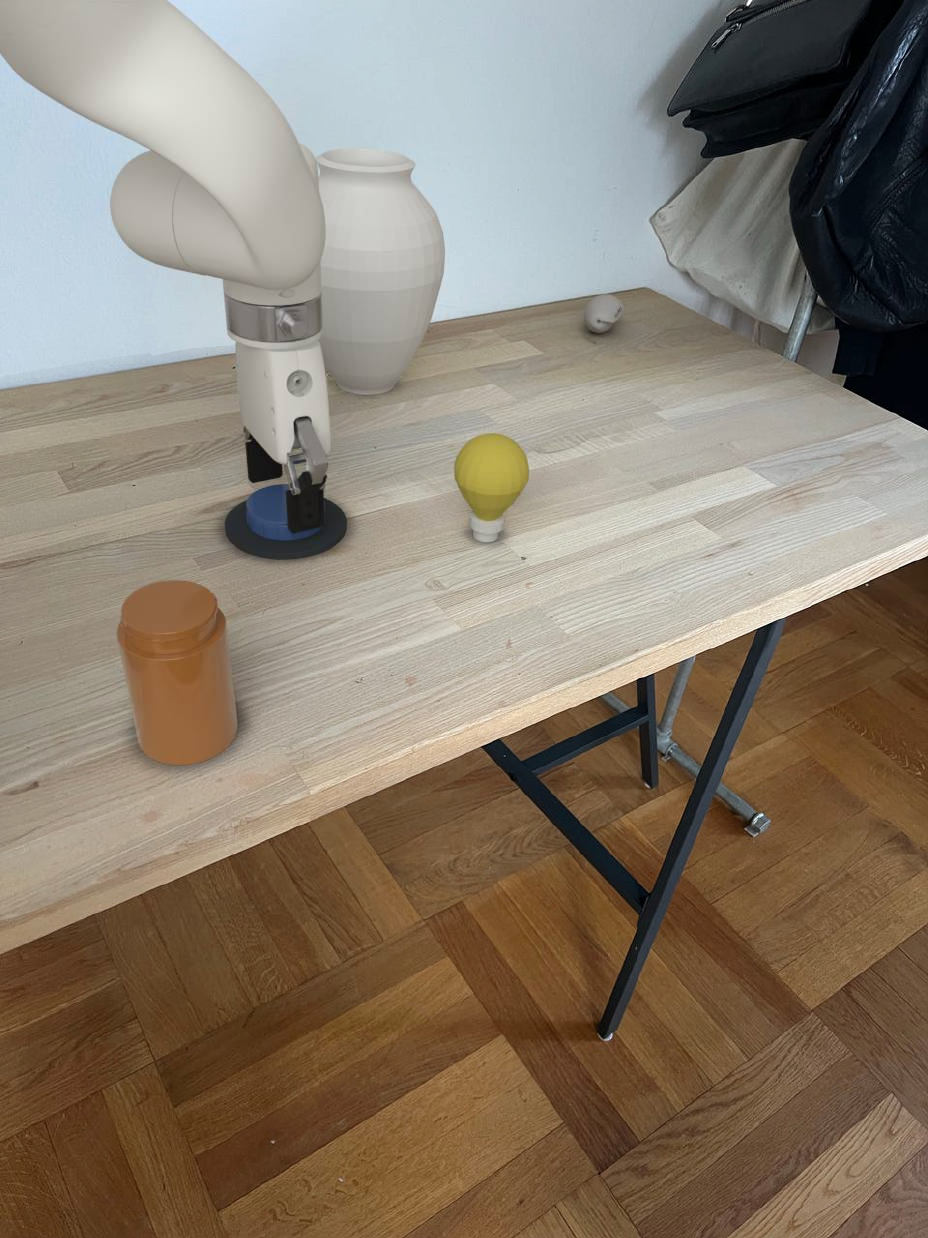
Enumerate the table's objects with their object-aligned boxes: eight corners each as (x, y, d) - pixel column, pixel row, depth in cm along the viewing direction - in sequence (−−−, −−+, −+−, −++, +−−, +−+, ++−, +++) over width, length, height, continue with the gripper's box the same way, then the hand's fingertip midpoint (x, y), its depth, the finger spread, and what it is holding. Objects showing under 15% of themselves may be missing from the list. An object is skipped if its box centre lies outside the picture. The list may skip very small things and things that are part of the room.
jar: (153, 778, 60) (128, 650, 53) (126, 715, 64) (100, 591, 58) (251, 745, 63) (239, 620, 56) (219, 687, 67) (204, 566, 61)
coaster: (250, 571, 79) (249, 565, 79) (208, 511, 86) (208, 505, 86) (366, 542, 84) (366, 536, 84) (318, 487, 91) (317, 482, 91)
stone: (614, 346, 128) (620, 310, 125) (576, 340, 129) (581, 304, 126) (623, 324, 136) (629, 289, 133) (587, 318, 137) (592, 284, 134)
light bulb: (532, 528, 88) (544, 431, 82) (504, 562, 83) (515, 462, 77) (467, 510, 90) (475, 414, 84) (437, 542, 85) (443, 442, 79)
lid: (307, 495, 89) (307, 477, 88) (337, 530, 84) (336, 512, 83) (236, 510, 86) (235, 492, 85) (263, 547, 81) (262, 529, 80)
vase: (343, 426, 102) (339, 182, 87) (263, 372, 113) (248, 146, 98) (467, 393, 112) (484, 168, 97) (383, 346, 122) (386, 136, 107)
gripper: (364, 345, 69) (364, 540, 79) (278, 277, 81) (287, 454, 91) (269, 359, 66) (282, 560, 76) (193, 285, 77) (213, 469, 88)
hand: (285, 502), depth 84 cm, fingers open, 9 cm apart
